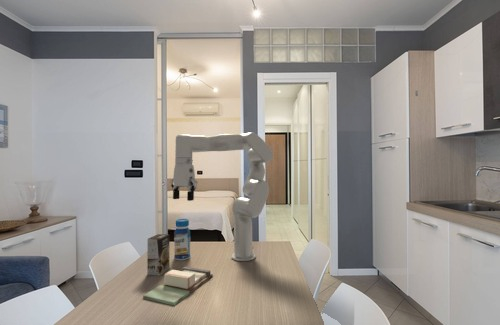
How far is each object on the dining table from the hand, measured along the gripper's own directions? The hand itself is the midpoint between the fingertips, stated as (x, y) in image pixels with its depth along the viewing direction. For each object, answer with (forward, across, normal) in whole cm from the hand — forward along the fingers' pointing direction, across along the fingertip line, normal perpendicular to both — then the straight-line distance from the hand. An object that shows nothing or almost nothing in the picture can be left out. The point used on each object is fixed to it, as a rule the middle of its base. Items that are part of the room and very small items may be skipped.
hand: (183, 199), depth 119 cm
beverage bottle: (+33, +16, -14) cm, 40 cm away
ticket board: (+33, -10, +9) cm, 36 cm away
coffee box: (+34, +11, +4) cm, 36 cm away
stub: (+32, -10, +9) cm, 35 cm away
